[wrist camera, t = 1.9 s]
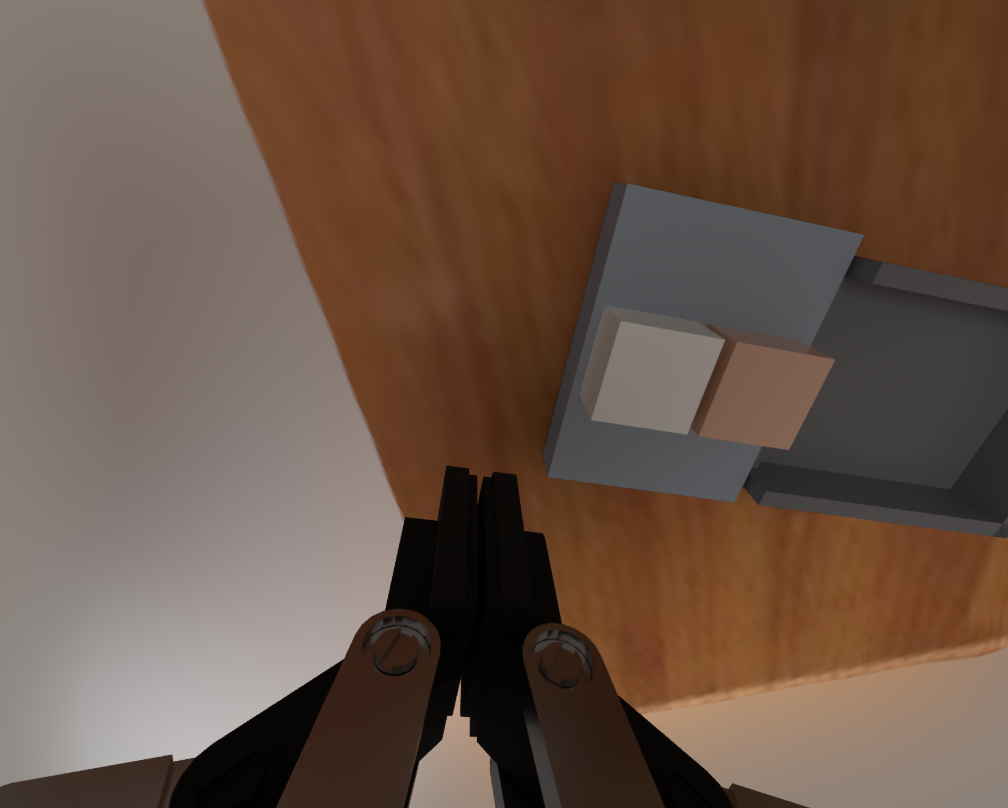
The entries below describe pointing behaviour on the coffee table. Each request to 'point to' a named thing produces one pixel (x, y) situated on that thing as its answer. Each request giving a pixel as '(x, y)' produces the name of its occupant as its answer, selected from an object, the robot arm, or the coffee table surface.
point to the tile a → (648, 370)
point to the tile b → (760, 389)
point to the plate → (697, 297)
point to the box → (903, 407)
